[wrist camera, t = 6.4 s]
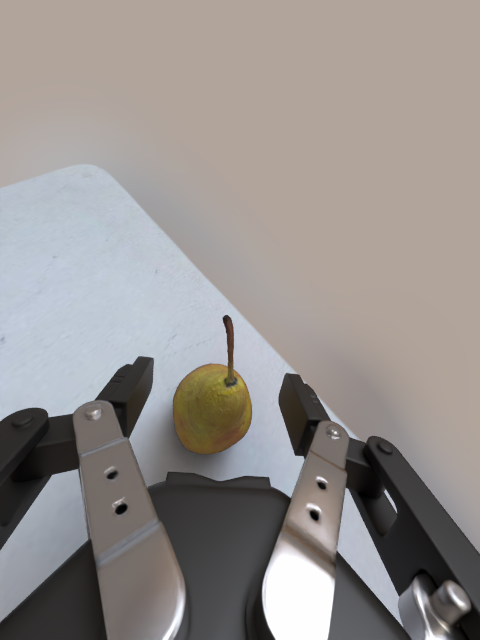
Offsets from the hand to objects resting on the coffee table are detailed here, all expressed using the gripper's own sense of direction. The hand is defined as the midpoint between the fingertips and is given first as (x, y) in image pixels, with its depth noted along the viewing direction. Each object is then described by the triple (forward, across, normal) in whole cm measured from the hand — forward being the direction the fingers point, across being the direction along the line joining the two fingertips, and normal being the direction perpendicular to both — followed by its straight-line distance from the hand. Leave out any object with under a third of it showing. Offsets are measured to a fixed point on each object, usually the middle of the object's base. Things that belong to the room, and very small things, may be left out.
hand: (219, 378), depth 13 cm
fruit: (+3, 0, +5) cm, 6 cm away
